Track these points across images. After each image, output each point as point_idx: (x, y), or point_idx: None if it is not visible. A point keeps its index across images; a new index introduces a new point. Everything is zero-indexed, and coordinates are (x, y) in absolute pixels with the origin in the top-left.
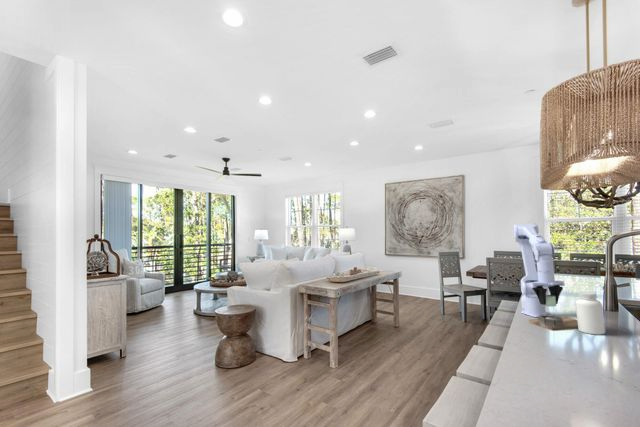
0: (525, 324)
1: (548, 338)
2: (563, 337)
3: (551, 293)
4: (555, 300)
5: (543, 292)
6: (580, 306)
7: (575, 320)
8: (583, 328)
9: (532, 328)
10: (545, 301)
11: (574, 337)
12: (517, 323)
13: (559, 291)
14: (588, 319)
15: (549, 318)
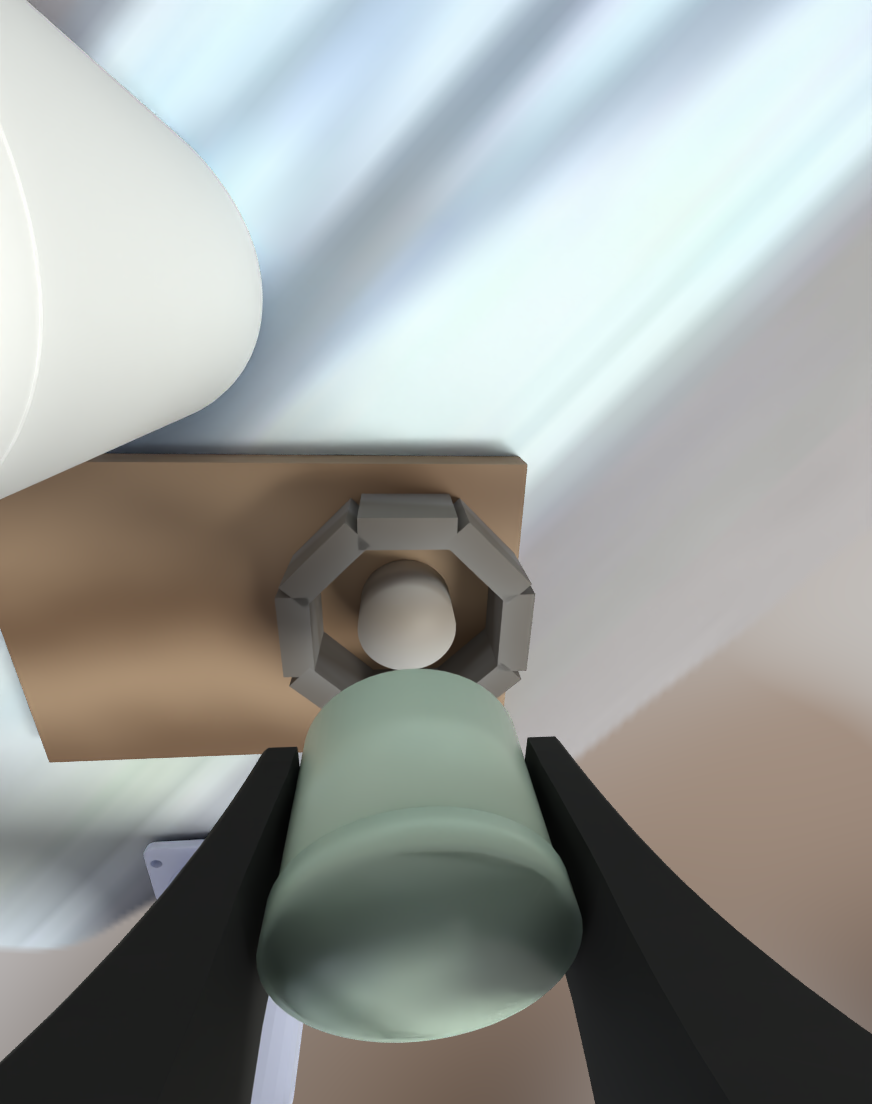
0: (580, 681)
1: (830, 198)
2: (644, 178)
3: (248, 1052)
4: (339, 773)
5: (784, 1003)
6: (65, 173)
7: (45, 635)
8: (249, 253)
9: (637, 562)
10: (556, 779)
11: (524, 134)
12: (617, 718)
13: (87, 1062)
14: (137, 111)
15: (416, 630)
